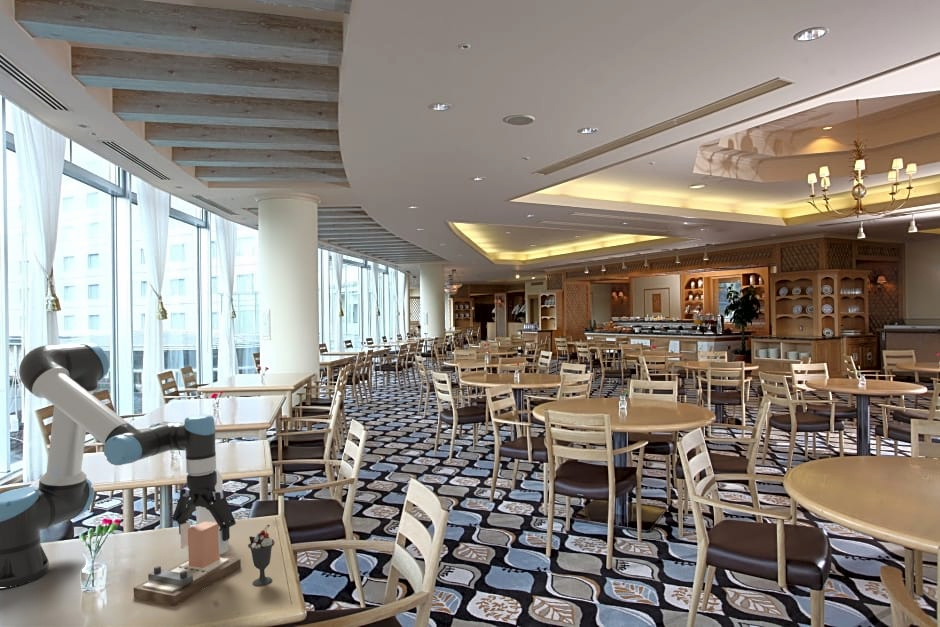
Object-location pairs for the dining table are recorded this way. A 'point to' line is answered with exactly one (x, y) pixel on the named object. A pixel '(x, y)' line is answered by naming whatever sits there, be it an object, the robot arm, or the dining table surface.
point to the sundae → (261, 555)
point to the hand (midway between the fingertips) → (204, 549)
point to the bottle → (205, 514)
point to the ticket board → (189, 587)
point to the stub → (204, 547)
